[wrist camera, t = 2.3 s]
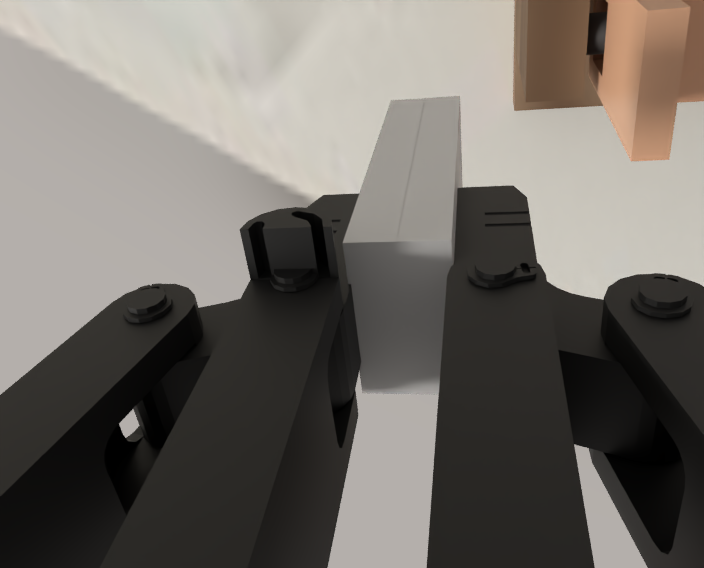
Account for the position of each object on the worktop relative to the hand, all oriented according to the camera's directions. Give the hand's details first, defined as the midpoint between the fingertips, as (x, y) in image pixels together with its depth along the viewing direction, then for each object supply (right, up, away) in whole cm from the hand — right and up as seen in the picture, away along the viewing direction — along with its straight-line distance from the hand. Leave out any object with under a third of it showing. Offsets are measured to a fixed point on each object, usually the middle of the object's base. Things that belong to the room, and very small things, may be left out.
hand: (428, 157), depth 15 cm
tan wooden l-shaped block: (+10, +7, +10) cm, 15 cm away
